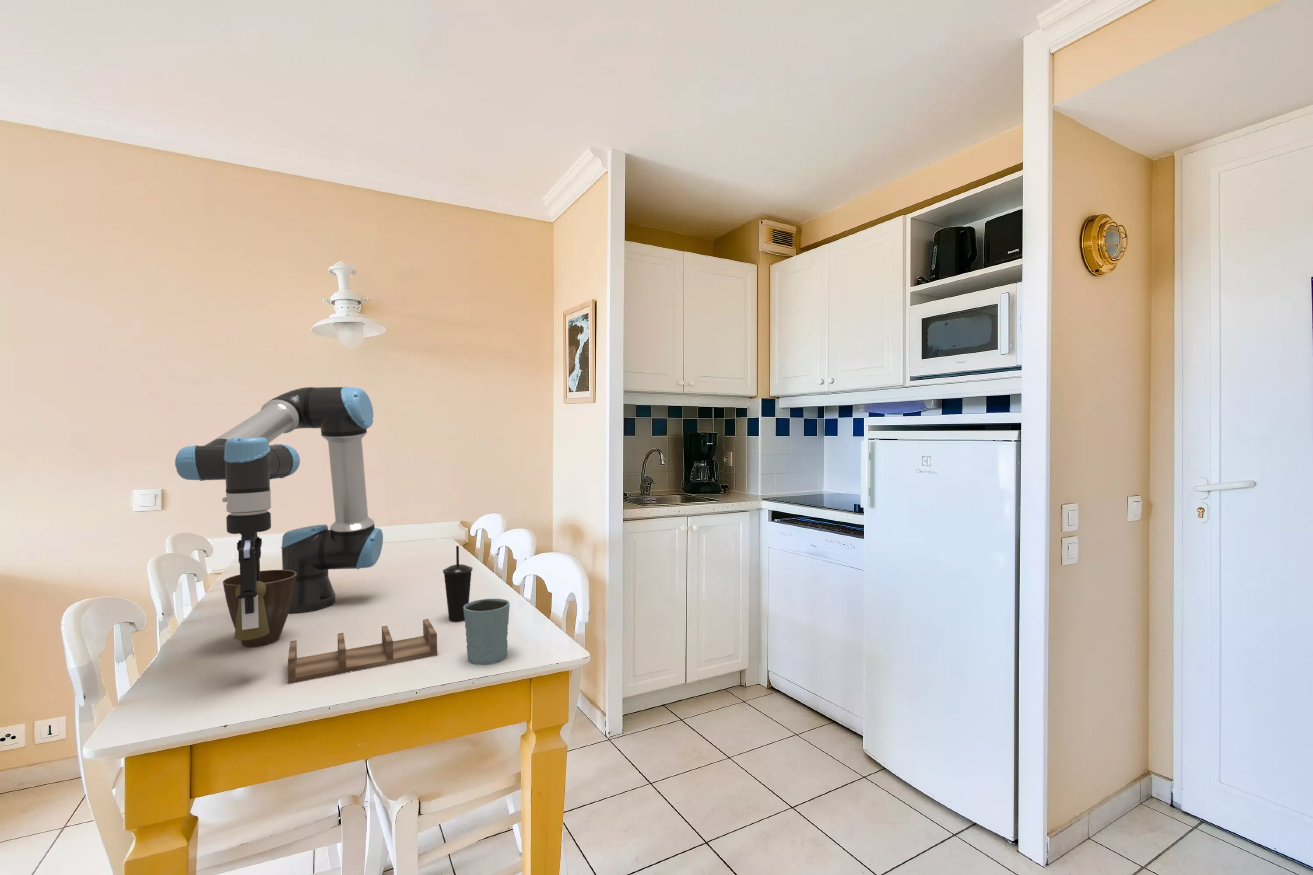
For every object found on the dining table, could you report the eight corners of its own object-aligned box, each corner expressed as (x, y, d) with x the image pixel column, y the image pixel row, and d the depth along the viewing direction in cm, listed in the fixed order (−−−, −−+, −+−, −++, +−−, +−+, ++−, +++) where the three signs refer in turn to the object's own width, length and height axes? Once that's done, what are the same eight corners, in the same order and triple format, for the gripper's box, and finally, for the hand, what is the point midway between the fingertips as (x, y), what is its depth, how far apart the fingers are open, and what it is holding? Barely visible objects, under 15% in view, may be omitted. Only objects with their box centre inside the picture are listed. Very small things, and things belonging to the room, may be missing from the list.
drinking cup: (456, 625, 153) (455, 549, 153) (437, 620, 157) (436, 547, 157) (479, 617, 160) (478, 544, 159) (460, 612, 164) (459, 542, 163)
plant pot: (303, 628, 152) (302, 567, 152) (289, 648, 138) (288, 581, 138) (236, 635, 147) (234, 572, 147) (214, 656, 133) (212, 587, 133)
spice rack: (290, 663, 129) (290, 641, 129) (428, 639, 143) (428, 618, 143) (288, 683, 118) (287, 659, 118) (437, 655, 133) (436, 633, 133)
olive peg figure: (232, 634, 121) (231, 581, 121) (267, 627, 125) (266, 576, 124) (235, 642, 116) (233, 588, 116) (271, 635, 120) (270, 582, 120)
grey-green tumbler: (471, 669, 125) (470, 613, 125) (458, 654, 133) (457, 602, 133) (516, 658, 130) (516, 605, 130) (502, 645, 139) (501, 595, 139)
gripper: (231, 508, 126) (234, 614, 126) (219, 520, 110) (223, 641, 111) (273, 505, 129) (276, 608, 130) (267, 516, 114) (270, 634, 114)
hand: (251, 623), depth 120 cm, fingers closed on olive peg figure, 5 cm apart
